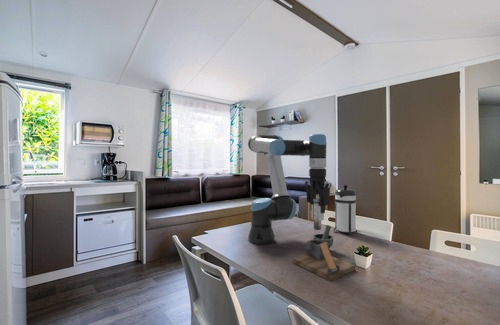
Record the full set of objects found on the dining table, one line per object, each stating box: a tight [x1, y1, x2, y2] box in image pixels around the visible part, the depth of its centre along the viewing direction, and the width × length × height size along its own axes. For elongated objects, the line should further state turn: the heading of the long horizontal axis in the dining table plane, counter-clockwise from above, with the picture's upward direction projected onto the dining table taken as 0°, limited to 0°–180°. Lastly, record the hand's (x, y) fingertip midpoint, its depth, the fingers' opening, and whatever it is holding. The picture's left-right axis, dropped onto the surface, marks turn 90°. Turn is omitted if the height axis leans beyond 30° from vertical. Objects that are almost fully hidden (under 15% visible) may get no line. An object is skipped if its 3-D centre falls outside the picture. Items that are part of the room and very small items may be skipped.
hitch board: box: [292, 238, 356, 282], centre depth 104 cm, size 20×16×8 cm
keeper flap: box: [320, 242, 338, 273], centre depth 96 cm, size 11×4×1 cm
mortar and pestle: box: [313, 224, 334, 250], centre depth 123 cm, size 11×9×12 cm
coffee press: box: [333, 184, 358, 236], centre depth 154 cm, size 17×16×30 cm
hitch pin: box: [313, 197, 322, 231], centre depth 110 cm, size 4×4×14 cm
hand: (317, 219), depth 110 cm, fingers closed on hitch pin, 3 cm apart
